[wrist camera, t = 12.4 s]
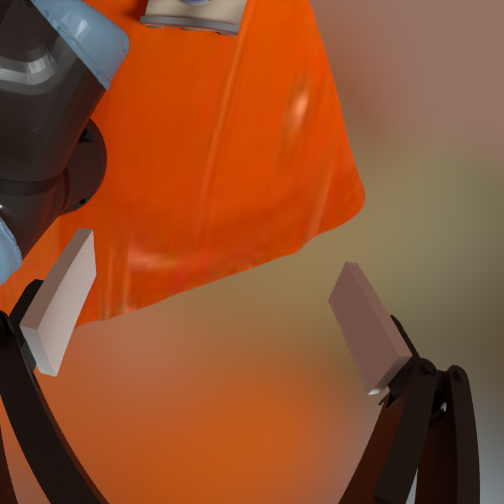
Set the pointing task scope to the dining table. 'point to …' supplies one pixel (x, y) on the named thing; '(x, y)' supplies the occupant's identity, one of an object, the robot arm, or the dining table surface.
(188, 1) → the pill bottle
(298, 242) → the dining table surface
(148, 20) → the dock
